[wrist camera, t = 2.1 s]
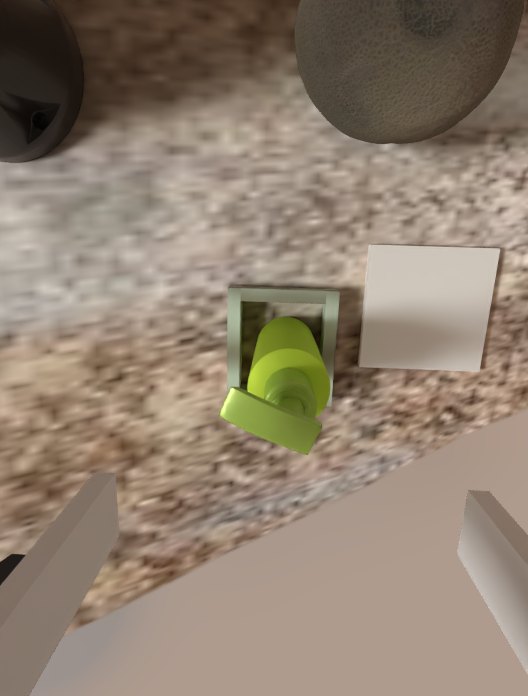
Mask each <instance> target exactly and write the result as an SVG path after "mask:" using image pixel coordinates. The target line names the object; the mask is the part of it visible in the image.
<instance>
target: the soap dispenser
mask: <svg viewBox="0 0 528 696" xmlns="http://www.w3.org/2000/svg"><path fill="white" fill-rule="evenodd" d="M330 388H331V387H330V379H329V375H328V373H327V370H326V368H325V365H324V362H323V360H322V357H321V355H320V352H319V350H318V347H317V345H316V342H315V340H314V337H313V335H312V332H311V331H310V329H309V328H308V327H307V325H305V324H304V323H303V322H302V321H300V320H298V319H295V318H292V317H280V318H276V319H274V320H272V321H270V322H269V323H267V324H266V325H265V326H264V327H263V328H262V330H261V332H260V334H259V336H258V340H257V344H256V348H255V352H254V357H253V361H252V365H251V370H250V374H249V378H248V384H247V391H246V390H244V389H242V388H240V387H231V388H230V390H229V392H228V394H227V397H226V399H225V401H224V404H223V406H222V408H221V411H220V413H219V416H220V417H222V418H223V419H225V420H227V421H228V422H230V423H232V424H234V425H236V426H238V427H240V428H242V429H244V430H246V431H248V432H250V433H252V434H254V435H256V436H258V437H261V438H263V439H266V440H268V441H271V442H273V443H276V444H278V445H281V446H284V447H286V448H289V449H292V450H295V451H297V452H300V453H303V454H306V455H308V453H309V452H310V450H311V448H312V446H313V444H314V442H315V440H316V438H317V436H318V434H319V432H320V430H321V428H322V424H321V422H319V421H317V420H314V418H316V417H317V416H318V415H319V414H320V413H321V412H322V411H323V409H324V408H325V406H326V404H327V402H328V399H329V396H330Z"/></svg>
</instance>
